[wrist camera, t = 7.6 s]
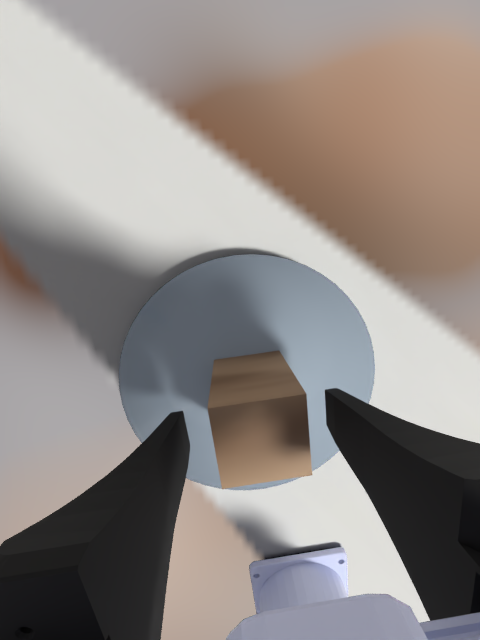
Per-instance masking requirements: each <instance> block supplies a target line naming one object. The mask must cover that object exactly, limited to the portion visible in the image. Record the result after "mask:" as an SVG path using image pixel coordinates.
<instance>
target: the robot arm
mask: <svg viewBox="0 0 480 640" xmlns="http://www.w3.org/2000/svg"><path fill="white" fill-rule="evenodd" d="M325 406H326V425H327V427H328V429H329V431H330V433H331V435H332V437H333V439H334V441H335V443H336V445H337V447H338V448H339V450H340V451H341V453H342V455H343V456H344V458H345V459H346V461H347V462H348V464H349V466H350V467H351V469H352V470H353V472H354V473H355V475H356V476H357V478H358V479H359V481H360V483H361V484H362V486H363V487H364V489H365V491H366V492H367V494H368V496H369V497H370V499H371V501H372V503H373V505H374V506H375V508H376V510H377V512H378V514H379V516H380V518H381V520H382V522H383V524H384V525H385V527H386V529H387V531H388V533H389V535H390V537H391V539H392V541H393V543H394V545H395V547H396V549H397V551H398V553H399V555H400V557H401V559H402V561H403V563H404V566H405V568H406V570H407V572H408V574H409V576H410V578H411V580H412V582H413V584H414V586H415V588H416V590H417V593H418V595H419V597H420V599H421V601H422V603H423V606H424V608H425V610H426V612H427V614H428V616H429V619H430V621H427V622H422V623H419V622H418V620H417V618H416V617H415V615H414V613H413V611H412V609H411V607H410V606H408V605H406V604H405V603H403V602H401V601H399V600H397V599H396V598H394V597H392V596H390V595H388V594H363V595H357V596H352V597H348V573H347V554H346V552H345V549H344V548H341V547H338V548H332V549H326V550H320V551H314V552H308V553H302V554H296V555H290V556H284V557H278V558H272V559H266V560H260V561H254V562H252V563H251V564H250V565H249V569H250V576H251V582H252V588H253V594H254V600H255V607H256V613H257V614H256V615H253V616H251V617H248V618H245V619H243V620H242V621H241V622H240V623H239V624H238V625H237V626H236V627H235V628H234V629H233V630H232V631H231V632H230V633H229V635H228V636H227V638H226V640H480V444H479V443H475V442H471V441H467V440H463V439H459V438H456V437H452V436H449V435H446V434H442V433H439V432H436V431H433V430H430V429H427V428H424V427H421V426H418V425H415V424H413V423H410V422H407V421H405V420H402V419H400V418H398V417H395V416H393V415H391V414H389V413H386V412H384V411H382V410H380V409H378V408H376V407H374V406H372V405H370V404H368V403H366V402H364V401H362V400H360V399H358V398H356V397H354V396H352V395H350V394H348V393H346V392H344V391H342V390H340V389H338V388H332V389H326V390H325ZM189 454H190V441H189V437H188V432H187V427H186V422H185V418H184V413H183V411H178V412H171V413H170V414H169V415H168V416H167V417H166V418H165V419H164V420H163V421H162V423H161V424H160V425H159V426H158V427H157V428H156V429H155V430H154V431H153V432H152V433H151V434H150V436H149V437H148V438H147V439H146V440H145V441H144V442H143V443H142V444H141V445H140V446H139V447H138V448H137V449H136V450H135V451H134V452H133V453H132V454H131V455H130V456H129V457H127V458H126V459H125V460H124V461H123V462H122V463H121V464H120V465H118V466H117V467H116V468H115V469H114V470H113V471H111V472H110V473H109V474H108V475H107V476H105V477H104V478H103V479H101V480H100V481H99V482H97V483H96V484H95V485H93V486H92V487H90V488H89V489H88V490H86V491H85V492H84V493H82V494H81V495H80V496H78V497H77V498H75V499H74V500H72V501H71V502H69V503H68V504H66V505H65V506H63V507H62V508H60V509H59V510H57V511H55V512H54V513H52V514H51V515H49V516H47V517H46V518H44V519H42V520H41V521H39V522H37V523H36V524H34V525H32V526H30V527H28V528H27V529H25V530H23V531H22V532H20V533H18V534H16V535H14V536H13V537H11V538H9V539H7V540H5V541H4V542H3V543H2V544H1V546H0V640H160V639H161V630H162V621H163V612H164V603H165V594H166V585H167V578H168V570H169V562H170V554H171V548H172V541H173V533H174V528H175V522H176V517H177V513H178V509H179V504H180V500H181V496H182V491H183V487H184V483H185V478H186V474H187V469H188V463H189Z"/></svg>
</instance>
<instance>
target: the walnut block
mask: <svg viewBox="0 0 480 640" xmlns="http://www.w3.org/2000/svg"><path fill="white" fill-rule="evenodd" d="M207 409H208V415H209V420H210V426H211V431H212V437H213V442H214V448H215V453H216V459H217V464H218V470H219V475H220V481H221V486H222V489H226V488H233V487H239V486H246V485H252V484H258V483H265V482H271V481H278V480H284V479H290V478H297V477H303V476H310V475H312V465H311V451H310V437H309V423H308V408H307V394H306V392H305V391H304V389H303V388H302V386H301V384H300V383H299V381H298V380H297V378H296V376H295V375H294V373H293V372H292V370H291V368H290V367H289V365H288V364H287V362H286V360H285V359H284V357H283V356H282V354H281V352H280V351H272V352H265V353H258V354H251V355H244V356H237V357H230V358H223V359H216V360H214V364H213V371H212V378H211V386H210V393H209V400H208V408H207Z"/></svg>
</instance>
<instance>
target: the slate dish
mask: <svg viewBox="0 0 480 640" xmlns="http://www.w3.org/2000/svg"><path fill="white" fill-rule="evenodd" d="M272 351H280V352H281V354H282V356H283V357H284V359H285V360H286V362H287V364H288V365H289V367H290V368H291V370H292V372H293V373H294V375H295V376H296V378H297V380H298V381H299V383H300V384H301V386H302V388H303V389H304V391H305V392H306V394H307V408H308V423H309V437H310V451H311V465H312V471H313V470H315V469H317V468H318V467H320V466H321V465H323V464H324V463H325V462H327V461H328V460H329V459H331V458H332V457H333V456H334V455H335V454H336V453H337V452H338V451H339V448H338V447H337V445H336V443H335V441H334V439H333V437H332V435H331V433H330V431H329V429H328V427H327V425H326V406H325V390H326V389H332V388H338V389H340V390H342V391H344V392H346V393H348V394H350V395H352V396H354V397H356V398H358V399H360V400H362V401H364V402H366V403H368V404H369V401H370V398H371V394H372V389H373V384H374V372H375V364H374V352H373V347H372V342H371V338H370V335H369V332H368V330H367V327H366V324H365V322H364V320H363V318H362V317H361V315H360V313H359V311H358V309H357V308H356V307H355V305H354V304H353V303H352V301H351V300H350V299H349V297H348V296H347V295H346V294H345V293H344V292H343V291H342V290H341V289H340V288H339V287H338V286H337V285H336V284H335V283H333V282H332V281H331V280H329V279H328V278H326V277H325V276H324V275H322V274H321V273H319V272H317V271H315V270H313V269H311V268H309V267H308V266H306V265H303V264H300V263H297V262H295V261H292V260H289V259H285V258H280V257H275V256H270V255H256V254H247V255H233V256H228V257H223V258H218V259H214V260H211V261H208V262H205V263H202V264H199V265H196V266H194V267H192V268H191V269H189V270H187V271H185V272H183V273H181V274H179V275H178V276H176V277H175V278H173V279H172V280H170V281H169V282H168V283H166V284H165V285H164V286H162V287H161V288H160V289H159V290H158V291H157V292H156V293H155V294H154V295H153V296H152V297H151V298H150V299H149V300H148V302H147V303H146V304H145V305H144V306H143V308H142V309H141V310H140V312H139V313H138V315H137V317H136V318H135V320H134V322H133V323H132V325H131V327H130V329H129V332H128V334H127V337H126V339H125V341H124V345H123V349H122V353H121V357H120V367H119V388H120V395H121V400H122V405H123V408H124V410H125V413H126V416H127V419H128V421H129V423H130V425H131V427H132V429H133V431H134V433H135V434H136V436H137V437H138V438H139V440H140V441H141V443H143V442H144V441H145V440H146V439H147V438H148V437H149V436H150V434H151V433H152V432H153V431H154V430H155V429H156V428H157V427H158V426H159V425H160V424H161V423H162V421H163V420H164V419H165V418H166V417H167V416H168V415H169V414H170V413H171V412H178V411H183V413H184V418H185V422H186V427H187V432H188V437H189V441H190V454H189V463H188V469H187V474H186V478H187V479H190V480H192V481H195V482H197V483H200V484H203V485H207V486H211V487H216V488H221V489H222V486H221V481H220V475H219V470H218V464H217V459H216V453H215V448H214V442H213V437H212V431H211V426H210V420H209V415H208V409H207V408H208V400H209V393H210V386H211V378H212V371H213V364H214V360H216V359H223V358H230V357H237V356H244V355H251V354H258V353H265V352H272ZM298 478H300V477H297V478H290V479H284V480H278V481H271V482H265V483H258V484H252V485H246V486H239V487H233V488H226V489H230V490H254V489H264V488H269V487H273V486H278V485H281V484H284V483H287V482H290V481H293V480H295V479H298Z"/></svg>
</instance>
